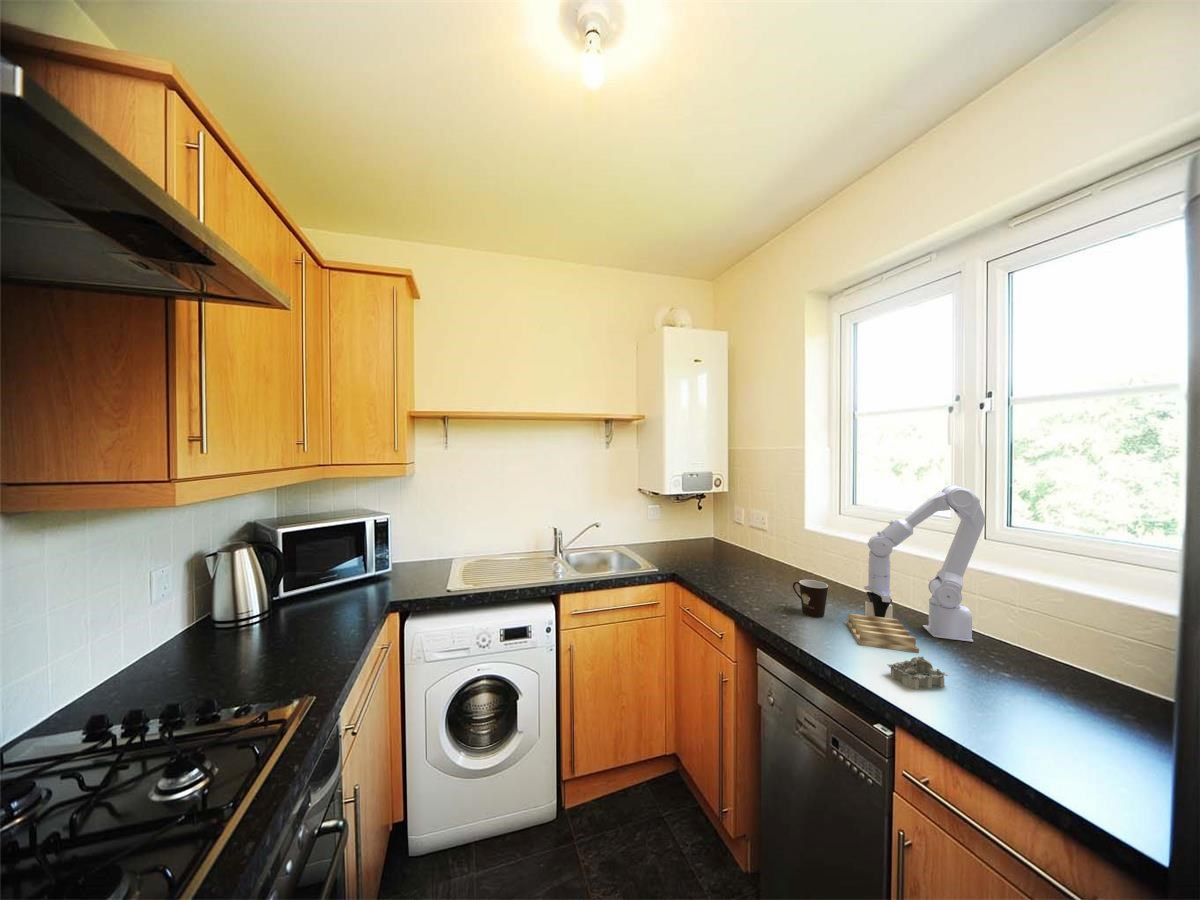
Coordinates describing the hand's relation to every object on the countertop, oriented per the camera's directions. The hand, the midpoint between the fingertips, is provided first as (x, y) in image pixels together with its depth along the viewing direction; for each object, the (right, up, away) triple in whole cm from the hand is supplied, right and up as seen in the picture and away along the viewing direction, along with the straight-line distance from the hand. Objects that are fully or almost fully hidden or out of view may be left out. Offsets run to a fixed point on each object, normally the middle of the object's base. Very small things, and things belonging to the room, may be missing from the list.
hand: (878, 617), depth 133 cm
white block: (0, -2, 0) cm, 2 cm away
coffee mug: (-17, -2, +8) cm, 19 cm away
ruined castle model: (-13, -2, -33) cm, 36 cm away
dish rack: (-7, -2, -11) cm, 12 cm away
